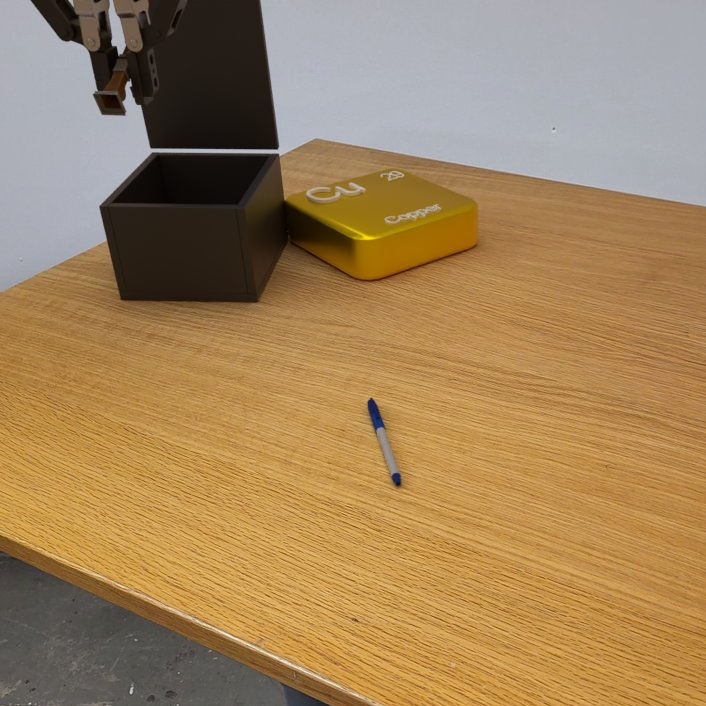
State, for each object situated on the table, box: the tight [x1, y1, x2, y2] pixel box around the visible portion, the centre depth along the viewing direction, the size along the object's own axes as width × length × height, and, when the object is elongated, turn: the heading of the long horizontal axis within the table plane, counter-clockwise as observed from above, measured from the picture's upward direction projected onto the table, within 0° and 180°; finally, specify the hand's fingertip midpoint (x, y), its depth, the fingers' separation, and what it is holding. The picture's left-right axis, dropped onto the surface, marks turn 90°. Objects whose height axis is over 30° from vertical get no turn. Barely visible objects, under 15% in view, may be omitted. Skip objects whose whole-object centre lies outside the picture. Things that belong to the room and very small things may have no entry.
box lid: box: [140, 0, 280, 151], centre depth 88 cm, size 15×13×5 cm
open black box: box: [98, 151, 290, 303], centre depth 88 cm, size 15×13×9 cm
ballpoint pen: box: [366, 397, 402, 487], centre depth 65 cm, size 10×1×1 cm, turn 15°
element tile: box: [284, 167, 479, 281], centre depth 94 cm, size 15×15×5 cm
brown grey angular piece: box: [92, 41, 134, 117], centre depth 69 cm, size 2×8×4 cm, turn 173°
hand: (130, 101), depth 69 cm, fingers closed on brown grey angular piece, 1 cm apart
